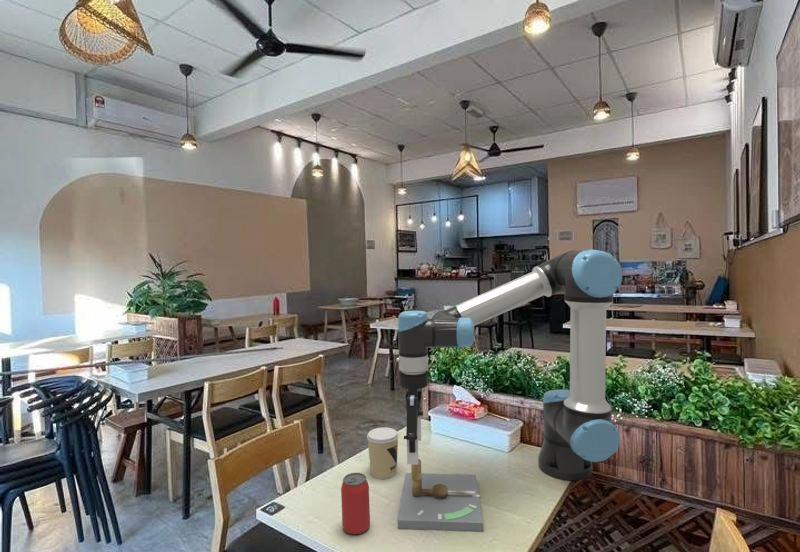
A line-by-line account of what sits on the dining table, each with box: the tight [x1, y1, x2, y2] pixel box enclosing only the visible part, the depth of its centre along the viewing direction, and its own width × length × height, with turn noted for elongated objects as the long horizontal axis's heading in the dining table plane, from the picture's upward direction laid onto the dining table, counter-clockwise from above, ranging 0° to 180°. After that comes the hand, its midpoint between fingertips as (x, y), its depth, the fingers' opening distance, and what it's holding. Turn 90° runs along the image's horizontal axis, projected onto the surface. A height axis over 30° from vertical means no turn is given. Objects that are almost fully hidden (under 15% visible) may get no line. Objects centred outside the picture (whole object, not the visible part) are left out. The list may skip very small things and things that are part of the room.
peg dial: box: [410, 458, 475, 498], centre depth 110 cm, size 16×4×9 cm, turn 84°
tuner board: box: [397, 472, 484, 532], centre depth 110 cm, size 20×22×2 cm
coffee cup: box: [366, 427, 399, 480], centre depth 127 cm, size 9×9×12 cm
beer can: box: [340, 472, 371, 535], centre depth 101 cm, size 7×7×12 cm
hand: (414, 451), depth 110 cm, fingers open, 13 cm apart
